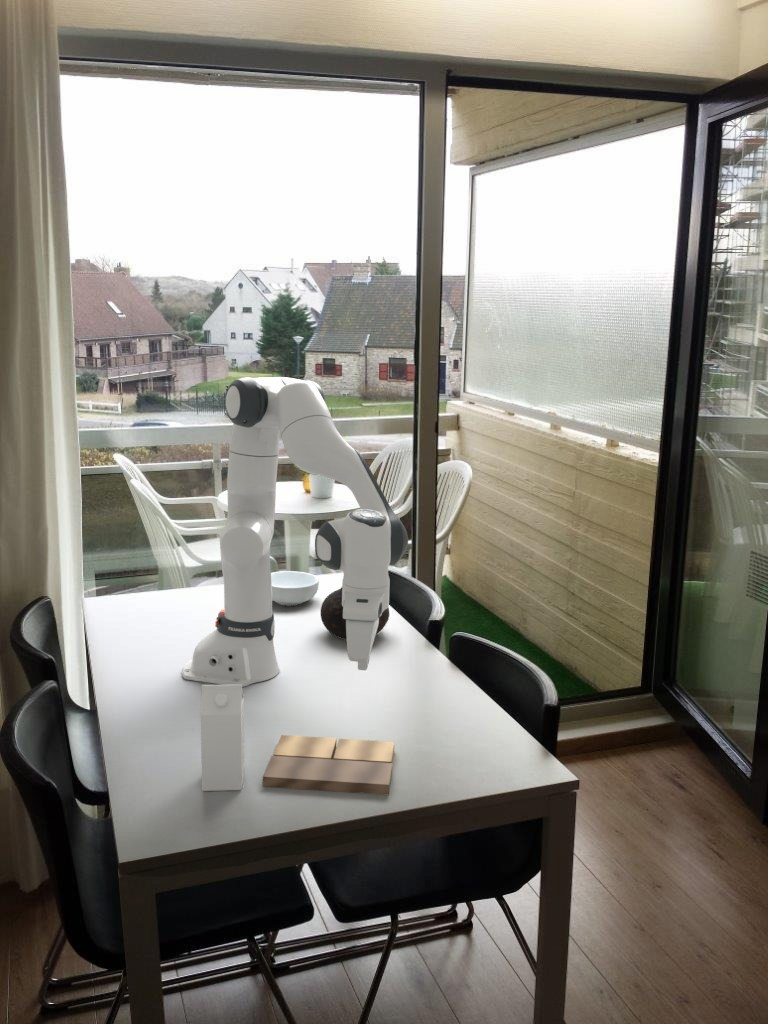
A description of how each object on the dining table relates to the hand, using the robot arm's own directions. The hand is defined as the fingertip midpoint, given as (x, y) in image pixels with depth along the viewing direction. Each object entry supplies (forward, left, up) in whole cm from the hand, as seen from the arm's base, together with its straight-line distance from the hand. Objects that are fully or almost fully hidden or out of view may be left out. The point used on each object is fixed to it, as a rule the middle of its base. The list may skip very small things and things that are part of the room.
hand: (363, 666), depth 177 cm
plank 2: (+1, -1, -19) cm, 19 cm away
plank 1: (-11, -1, -19) cm, 22 cm away
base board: (-5, -9, -19) cm, 22 cm away
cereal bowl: (-31, +92, -19) cm, 99 cm away
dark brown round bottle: (-9, +67, -19) cm, 70 cm away
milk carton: (-24, -12, -19) cm, 33 cm away
